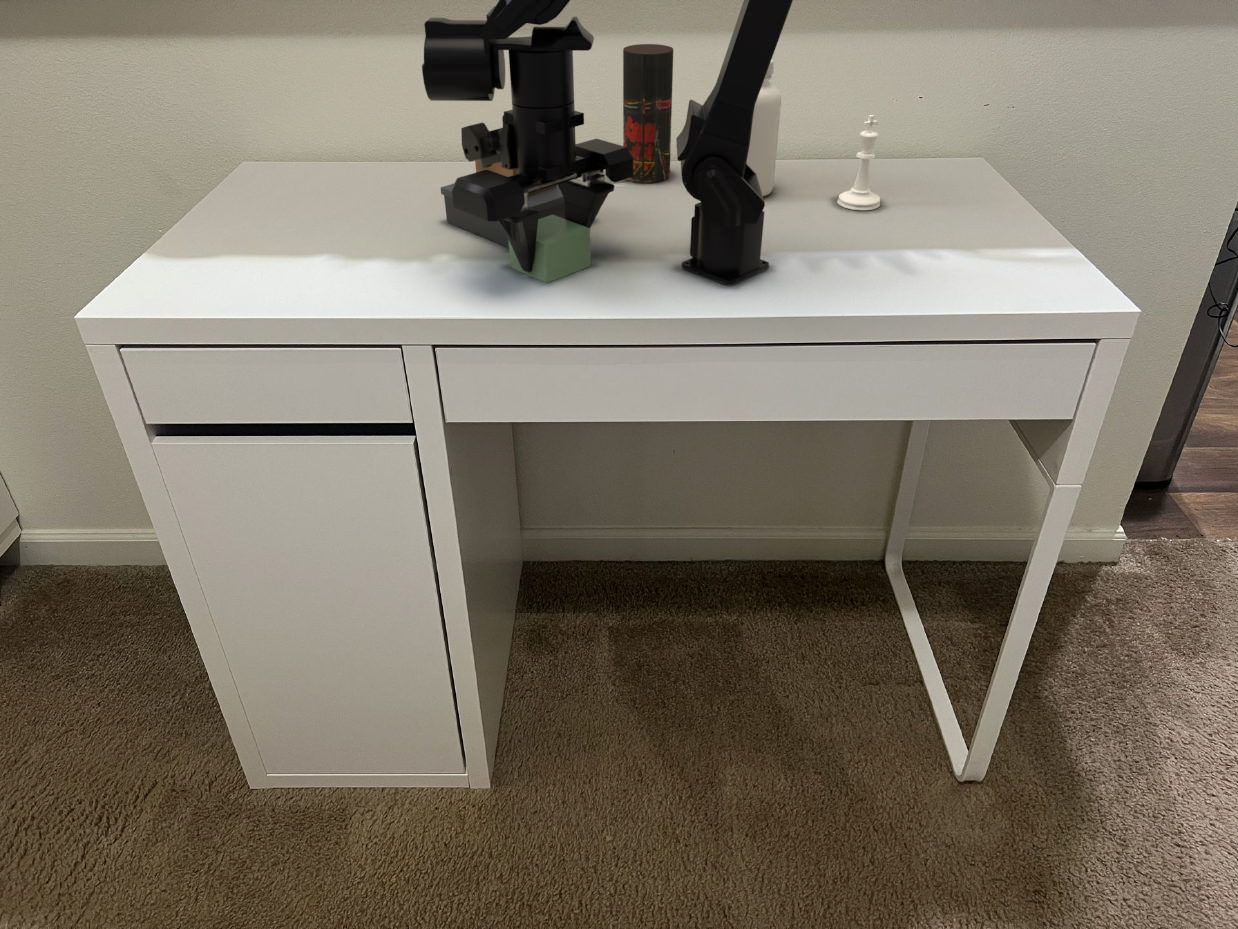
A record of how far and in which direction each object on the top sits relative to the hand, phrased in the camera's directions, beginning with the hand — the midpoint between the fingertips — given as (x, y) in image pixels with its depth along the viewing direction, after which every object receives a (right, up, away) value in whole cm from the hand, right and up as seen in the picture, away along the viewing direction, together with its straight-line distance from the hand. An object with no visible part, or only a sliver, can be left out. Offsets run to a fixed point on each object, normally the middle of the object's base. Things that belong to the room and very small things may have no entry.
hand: (550, 262), depth 93 cm
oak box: (-4, +10, +8) cm, 14 cm away
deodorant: (+10, +16, +24) cm, 31 cm away
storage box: (-4, +7, +11) cm, 13 cm away
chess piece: (+35, +10, +16) cm, 40 cm away
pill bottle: (+22, +13, +20) cm, 32 cm away
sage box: (0, 0, 0) cm, 0 cm away
